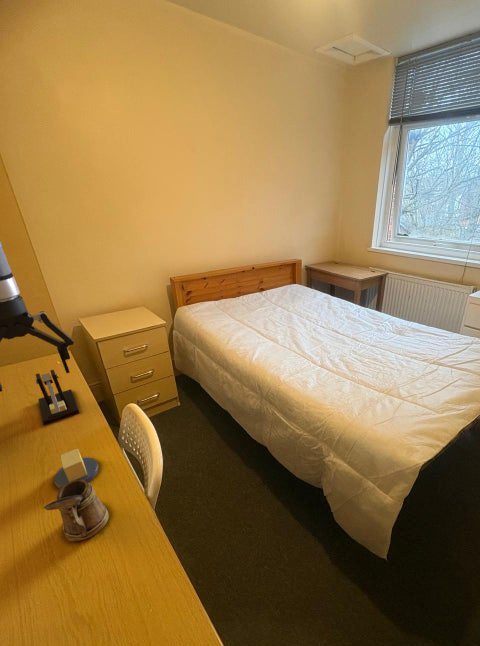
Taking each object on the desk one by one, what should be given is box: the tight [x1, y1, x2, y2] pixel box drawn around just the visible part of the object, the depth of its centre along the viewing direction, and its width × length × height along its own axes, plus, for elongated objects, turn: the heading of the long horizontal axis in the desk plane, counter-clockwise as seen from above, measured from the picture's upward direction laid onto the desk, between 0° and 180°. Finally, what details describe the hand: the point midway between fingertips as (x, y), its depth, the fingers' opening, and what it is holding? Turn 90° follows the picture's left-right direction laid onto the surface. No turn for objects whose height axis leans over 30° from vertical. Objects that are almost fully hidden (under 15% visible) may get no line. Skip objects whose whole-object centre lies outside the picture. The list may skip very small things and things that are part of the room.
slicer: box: [35, 369, 80, 426], centre depth 110 cm, size 16×10×14 cm, turn 40°
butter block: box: [60, 448, 87, 482], centre depth 85 cm, size 4×6×5 cm, turn 40°
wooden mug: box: [43, 479, 110, 542], centre depth 69 cm, size 9×14×18 cm, turn 27°
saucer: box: [53, 457, 100, 490], centre depth 87 cm, size 10×10×1 cm
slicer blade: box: [40, 372, 71, 420], centre depth 105 cm, size 16×6×2 cm
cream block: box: [49, 401, 67, 414], centre depth 107 cm, size 4×4×3 cm
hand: (35, 379), depth 80 cm, fingers open, 13 cm apart
